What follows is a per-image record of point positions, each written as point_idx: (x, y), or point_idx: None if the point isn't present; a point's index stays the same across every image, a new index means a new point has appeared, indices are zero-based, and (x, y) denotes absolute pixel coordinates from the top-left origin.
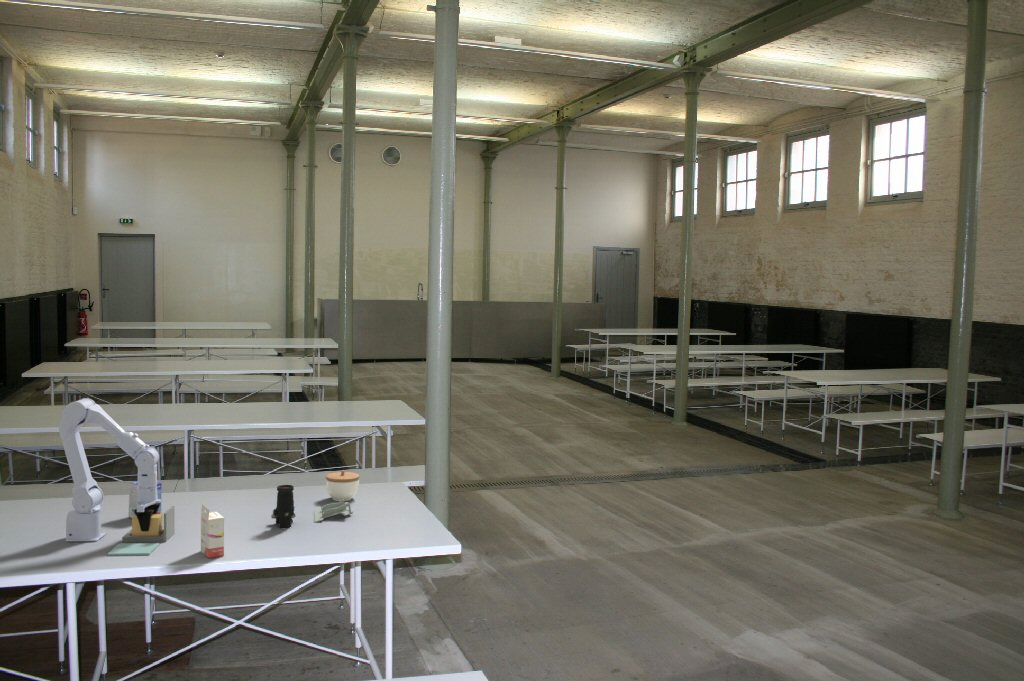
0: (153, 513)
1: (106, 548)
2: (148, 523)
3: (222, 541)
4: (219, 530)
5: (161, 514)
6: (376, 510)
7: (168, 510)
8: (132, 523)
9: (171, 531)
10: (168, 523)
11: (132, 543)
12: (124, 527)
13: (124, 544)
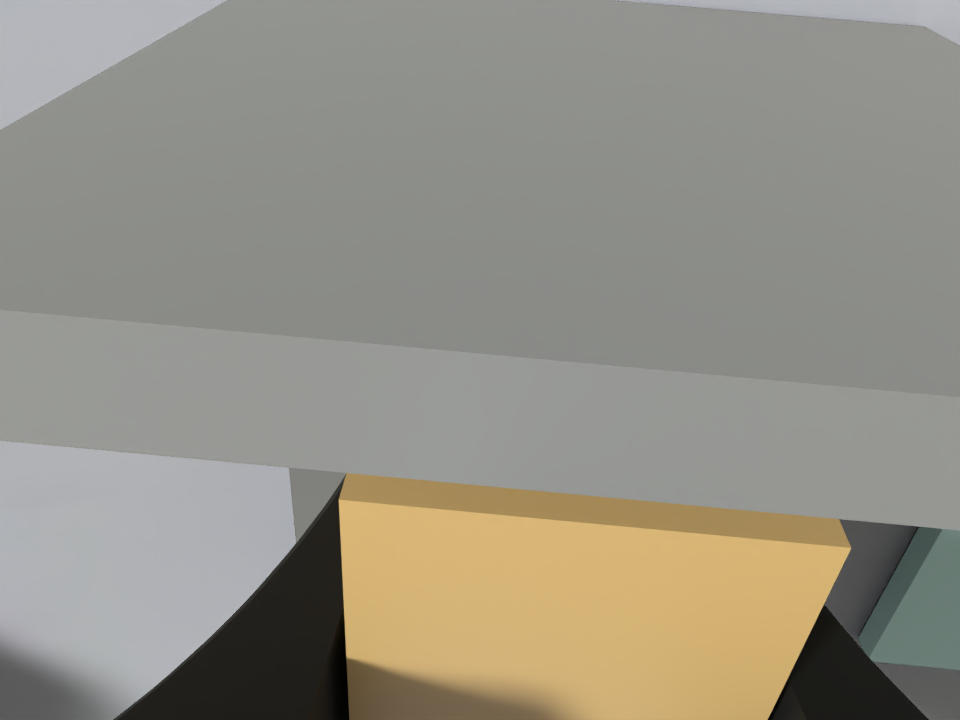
0: (325, 704)
1: (932, 715)
2: (824, 616)
3: None
4: None
5: (384, 523)
6: None
7: (889, 453)
8: None
9: (512, 16)
10: (890, 134)
11: (939, 538)
12: (54, 679)
13: (947, 610)
